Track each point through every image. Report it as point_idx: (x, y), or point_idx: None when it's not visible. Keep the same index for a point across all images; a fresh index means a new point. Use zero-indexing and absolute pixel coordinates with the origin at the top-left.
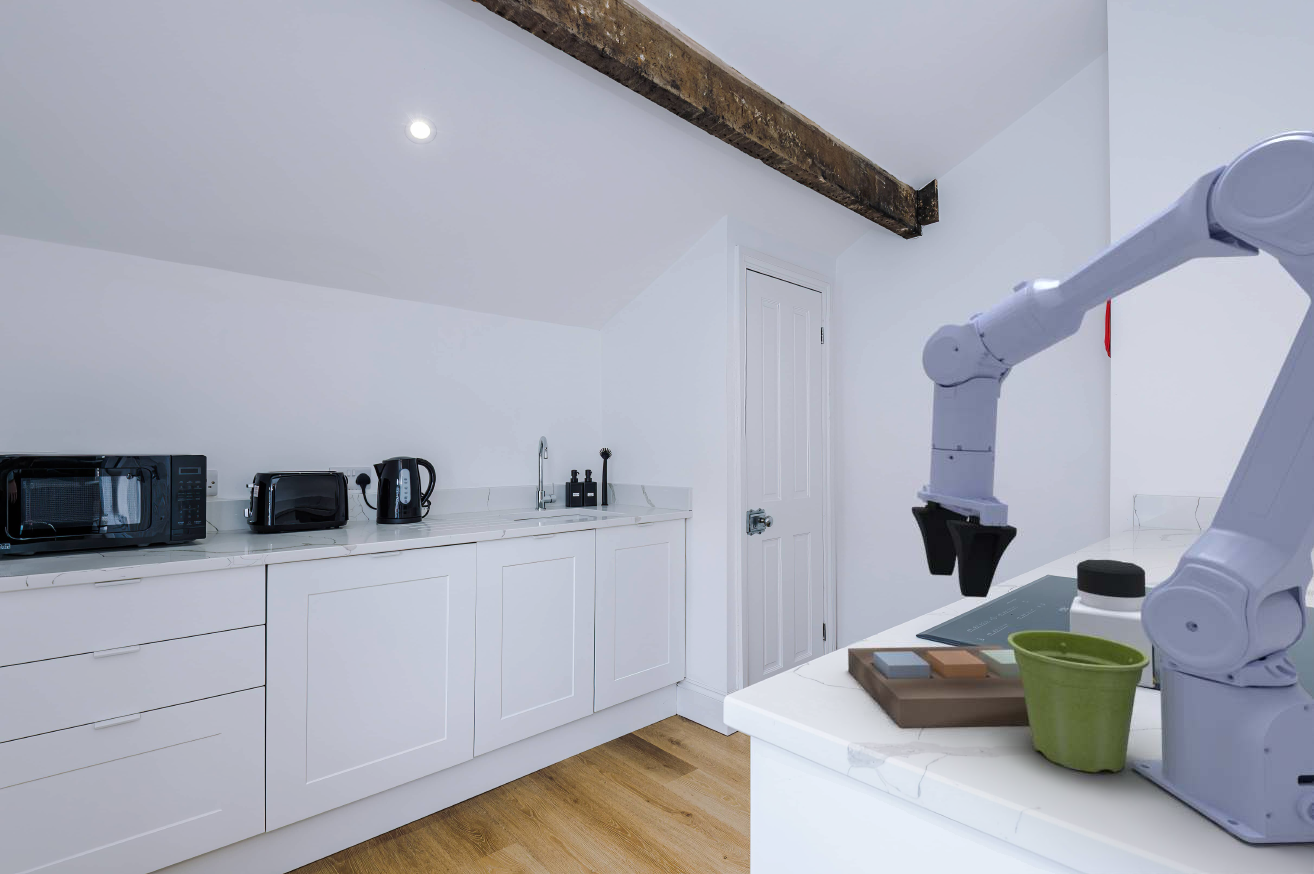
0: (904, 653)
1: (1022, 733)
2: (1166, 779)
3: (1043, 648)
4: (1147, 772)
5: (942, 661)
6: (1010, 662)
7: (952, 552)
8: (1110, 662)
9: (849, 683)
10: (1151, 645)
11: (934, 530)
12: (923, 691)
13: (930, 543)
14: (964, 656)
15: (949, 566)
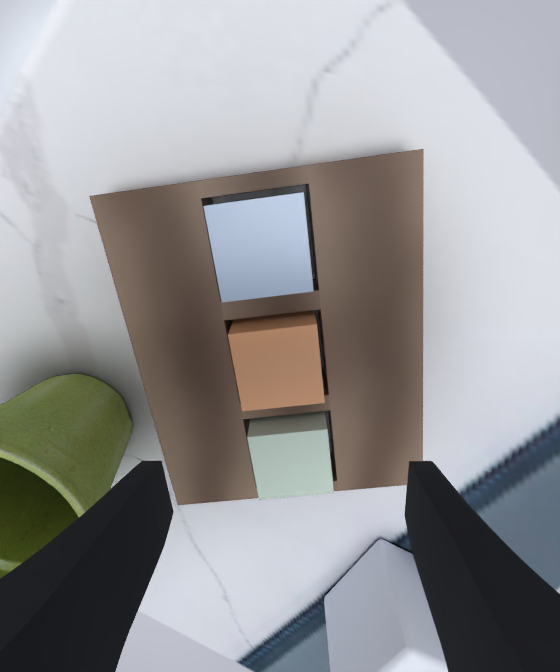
0: (296, 268)
1: (138, 380)
2: None
3: (95, 502)
4: None
5: (246, 335)
6: (256, 453)
7: (433, 601)
8: None
9: (327, 140)
10: (330, 662)
11: (491, 667)
12: (143, 257)
13: (459, 569)
14: (284, 388)
15: (414, 537)
